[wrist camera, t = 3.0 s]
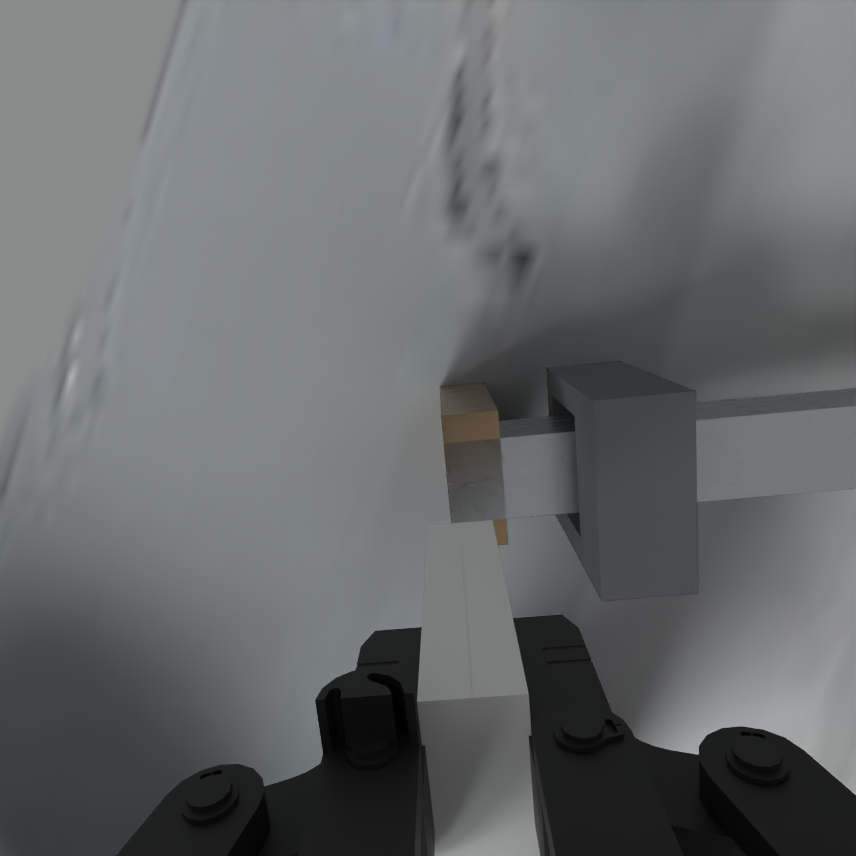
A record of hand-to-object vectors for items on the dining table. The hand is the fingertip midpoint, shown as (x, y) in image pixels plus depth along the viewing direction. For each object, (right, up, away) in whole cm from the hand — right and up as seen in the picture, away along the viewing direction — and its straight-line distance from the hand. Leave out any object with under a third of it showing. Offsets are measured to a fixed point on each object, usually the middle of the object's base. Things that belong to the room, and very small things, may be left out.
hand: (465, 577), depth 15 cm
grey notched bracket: (+6, +3, +12) cm, 14 cm away
